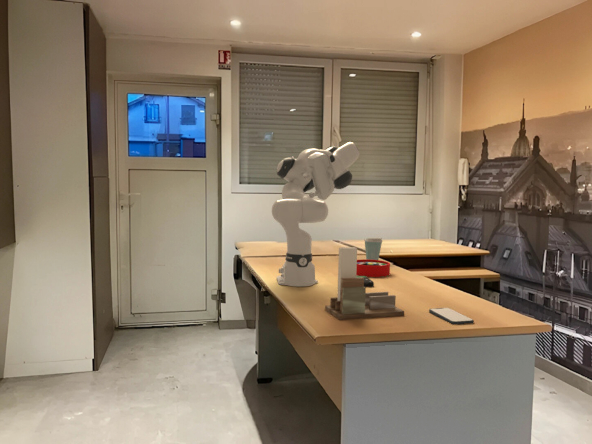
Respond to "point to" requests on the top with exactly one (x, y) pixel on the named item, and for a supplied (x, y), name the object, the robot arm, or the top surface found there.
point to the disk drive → (367, 281)
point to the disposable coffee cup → (372, 248)
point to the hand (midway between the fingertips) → (307, 187)
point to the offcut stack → (352, 295)
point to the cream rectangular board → (346, 265)
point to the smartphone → (450, 316)
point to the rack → (368, 307)
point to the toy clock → (372, 268)
